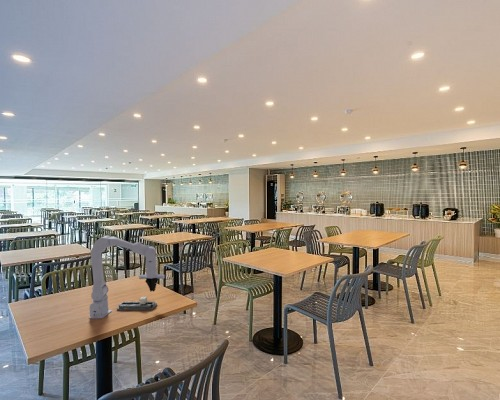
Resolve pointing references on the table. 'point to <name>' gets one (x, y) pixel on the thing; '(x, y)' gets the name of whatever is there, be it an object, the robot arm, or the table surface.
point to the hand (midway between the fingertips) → (152, 290)
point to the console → (136, 306)
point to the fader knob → (143, 300)
